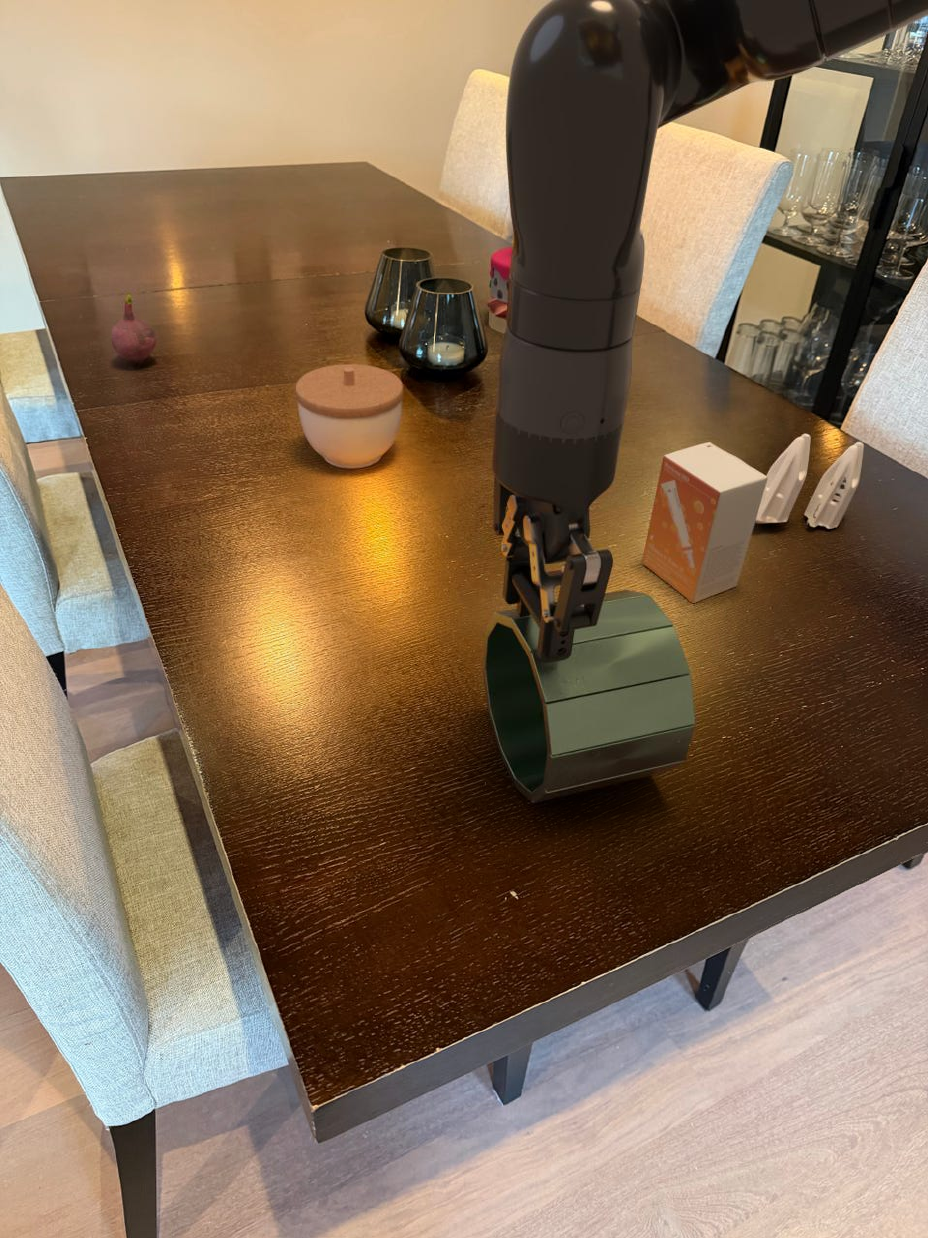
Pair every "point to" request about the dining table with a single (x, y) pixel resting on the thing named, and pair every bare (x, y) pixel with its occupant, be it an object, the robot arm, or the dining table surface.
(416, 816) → the dining table surface
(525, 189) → the robot arm
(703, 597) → the small box
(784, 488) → the shaker set
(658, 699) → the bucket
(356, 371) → the lidded bowl
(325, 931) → the dining table surface
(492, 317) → the cake
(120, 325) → the vegetable
